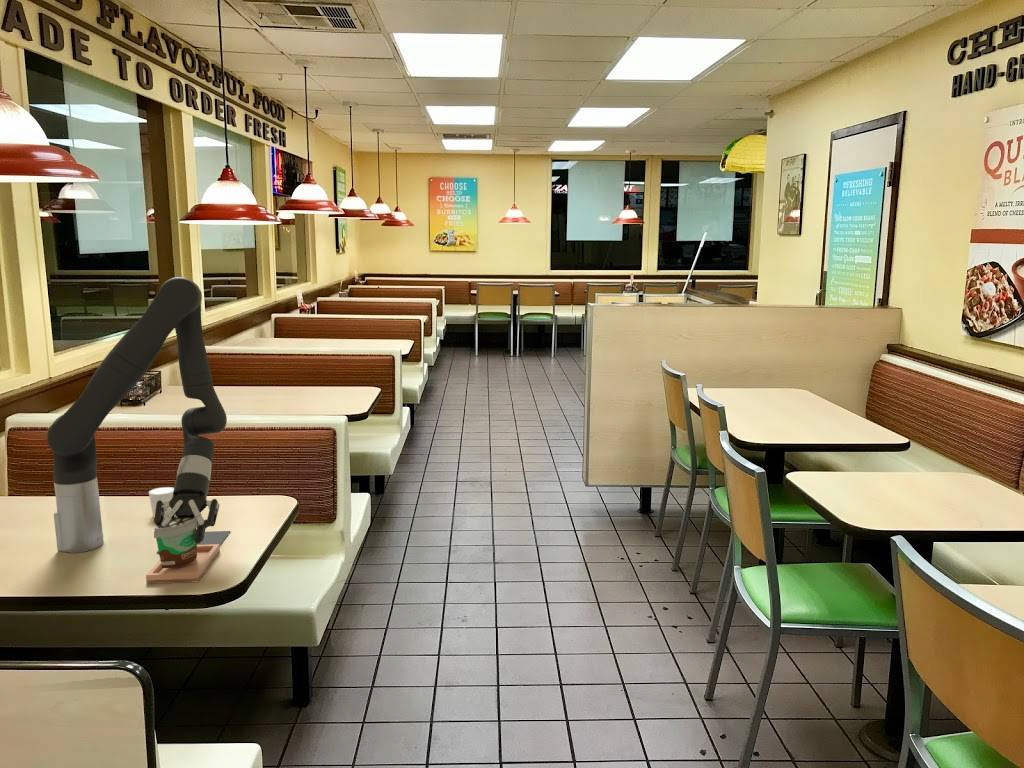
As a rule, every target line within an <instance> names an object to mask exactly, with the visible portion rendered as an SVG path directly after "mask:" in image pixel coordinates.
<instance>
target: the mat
mask: <svg viewBox="0 0 1024 768" xmlns="http://www.w3.org/2000/svg"><path fill="white" fill-rule="evenodd" d="M230 531H231V530H219V531H218V530H217V531H215V530H214V531H213V530H212V531H205V534H204V540H203V541H201V543H200V544H197V545H210V544H219V547H221V546H222V544H223V543H224V542H225V540H226V539H227V538H228V536H229V535H230V534H231V532H230ZM228 534H229V535H228ZM226 537H227V538H226ZM225 538H226V539H225ZM223 541H224V542H223ZM220 545H221V546H220ZM156 554H159V550H157V551H156Z"/></svg>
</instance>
